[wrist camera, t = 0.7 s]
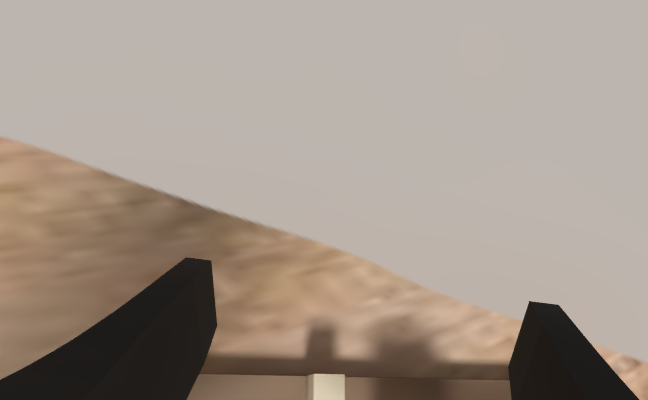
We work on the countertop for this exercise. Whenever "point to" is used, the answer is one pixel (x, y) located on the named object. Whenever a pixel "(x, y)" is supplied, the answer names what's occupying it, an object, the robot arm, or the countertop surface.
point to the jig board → (343, 388)
